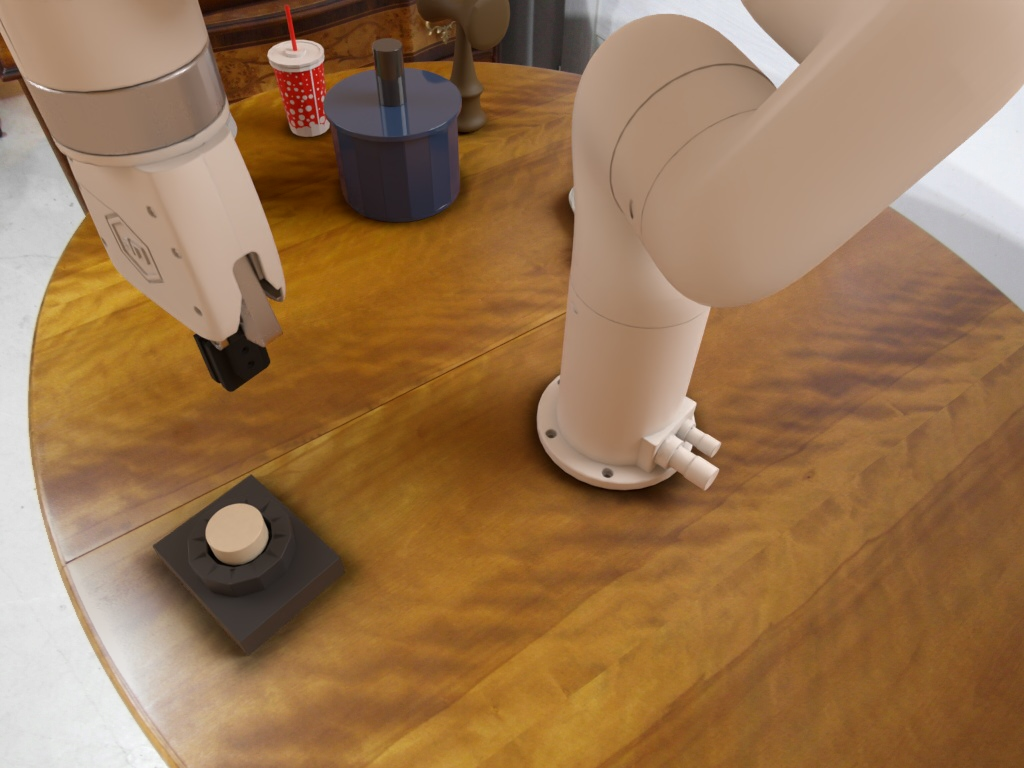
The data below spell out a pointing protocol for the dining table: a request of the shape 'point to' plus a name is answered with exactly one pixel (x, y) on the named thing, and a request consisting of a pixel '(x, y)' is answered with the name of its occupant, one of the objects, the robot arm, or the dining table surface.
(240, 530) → the release button
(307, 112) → the beverage cup
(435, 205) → the jar
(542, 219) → the dining table surface
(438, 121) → the jar lid
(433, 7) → the kendama
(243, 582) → the button block
